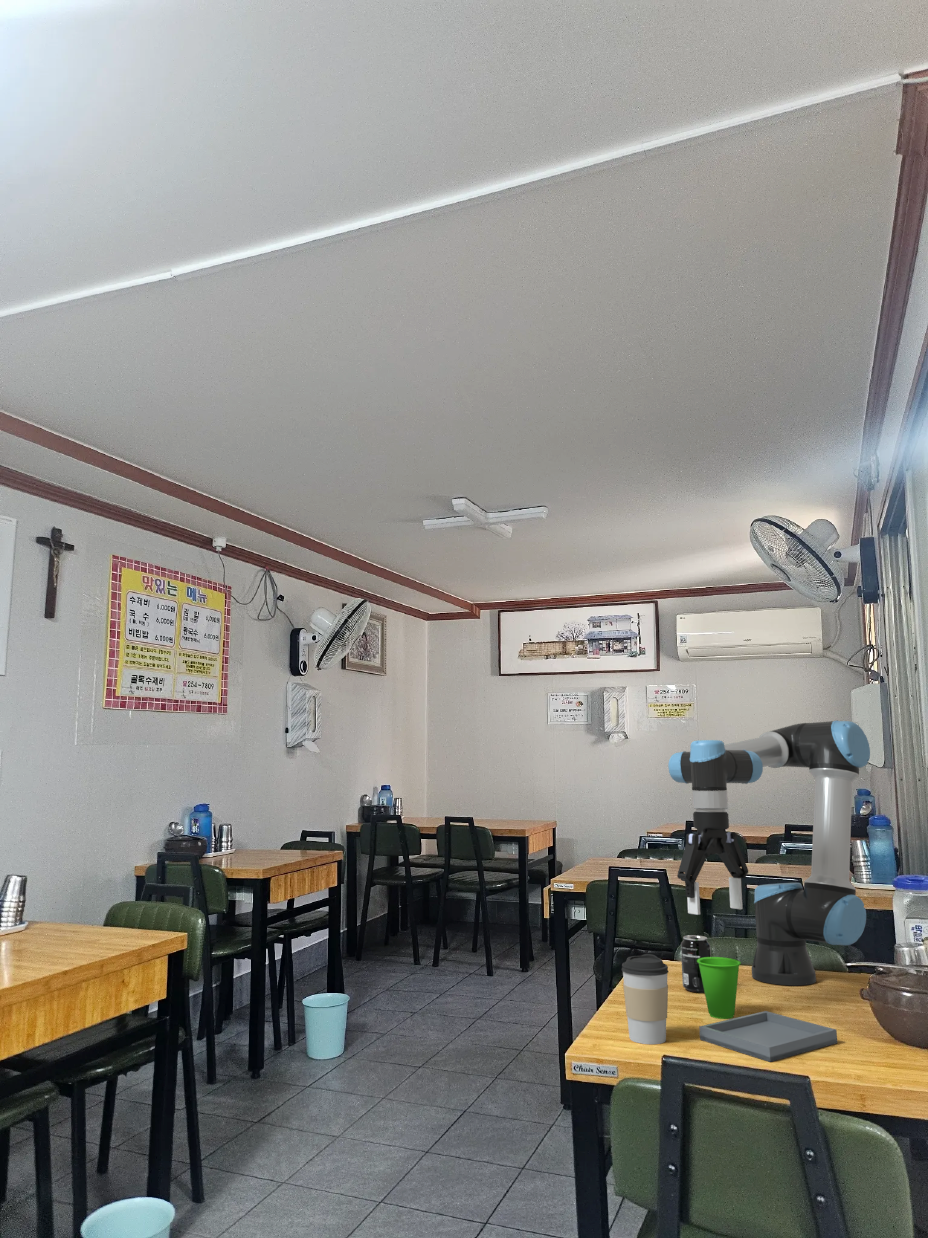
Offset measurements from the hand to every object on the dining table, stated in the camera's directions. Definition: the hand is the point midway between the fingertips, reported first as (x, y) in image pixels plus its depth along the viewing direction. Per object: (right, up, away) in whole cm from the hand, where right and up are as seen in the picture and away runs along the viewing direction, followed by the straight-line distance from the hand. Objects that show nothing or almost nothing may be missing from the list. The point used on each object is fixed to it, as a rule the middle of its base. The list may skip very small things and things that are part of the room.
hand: (715, 911), depth 185 cm
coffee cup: (-19, -18, -20) cm, 33 cm away
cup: (0, -21, -4) cm, 21 cm away
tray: (+4, -17, -22) cm, 28 cm away
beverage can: (+1, -25, +18) cm, 31 cm away
